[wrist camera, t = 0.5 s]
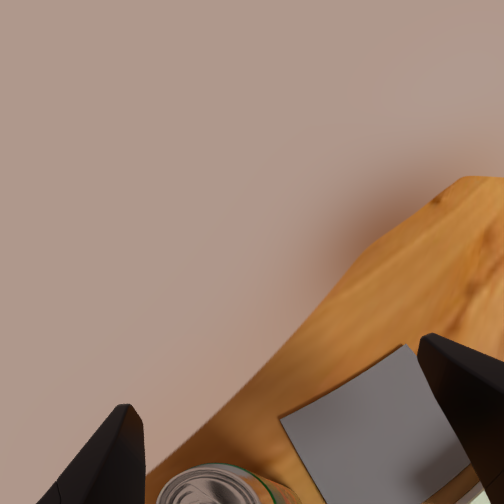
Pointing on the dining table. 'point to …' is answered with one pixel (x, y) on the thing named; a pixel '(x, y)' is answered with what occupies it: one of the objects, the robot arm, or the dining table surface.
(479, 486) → the grey open box
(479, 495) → the lid
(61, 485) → the robot arm
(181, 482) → the soda can
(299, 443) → the mat
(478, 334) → the dining table surface
